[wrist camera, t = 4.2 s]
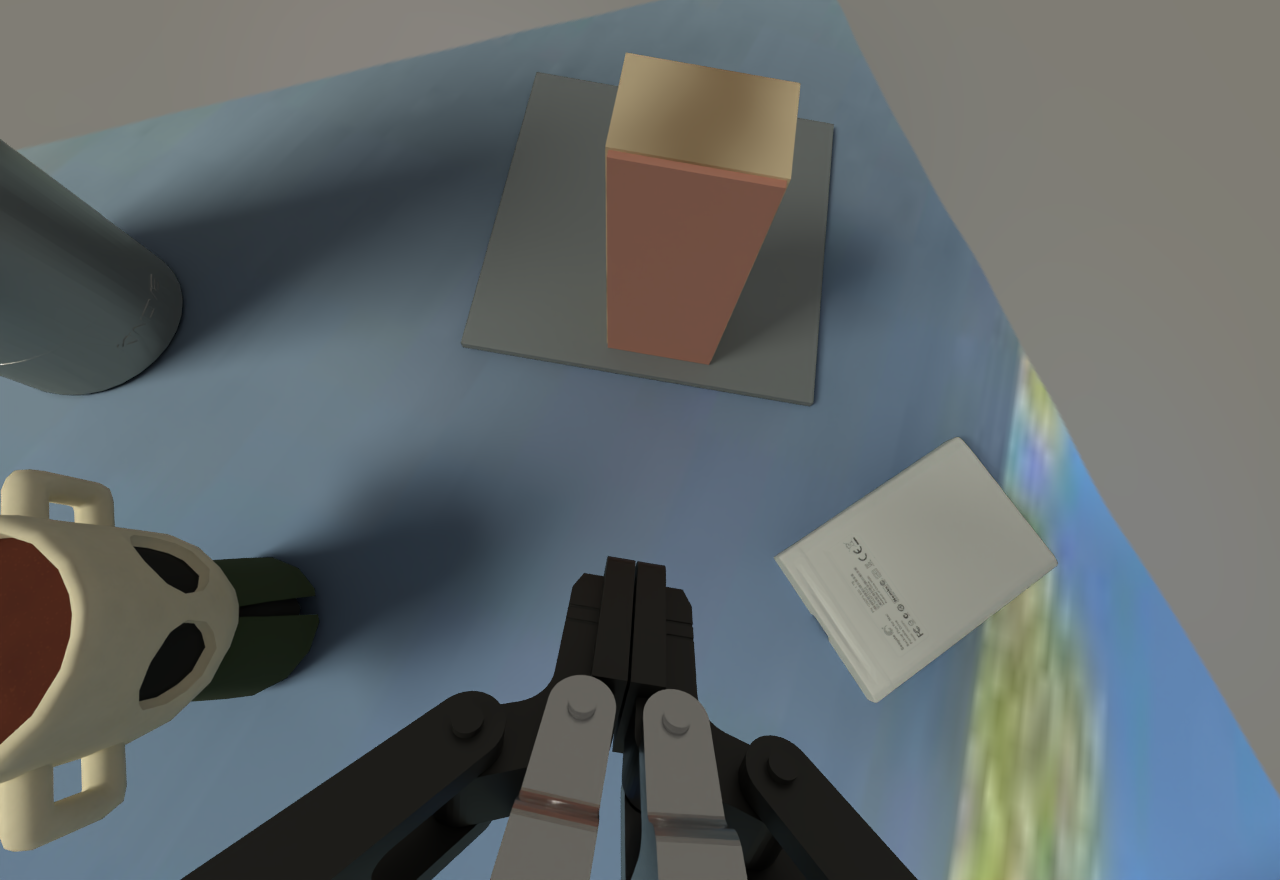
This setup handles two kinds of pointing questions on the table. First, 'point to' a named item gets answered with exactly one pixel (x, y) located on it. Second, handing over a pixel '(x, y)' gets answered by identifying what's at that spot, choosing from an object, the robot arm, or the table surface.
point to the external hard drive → (915, 566)
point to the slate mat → (576, 259)
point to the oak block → (689, 199)
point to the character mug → (117, 644)
